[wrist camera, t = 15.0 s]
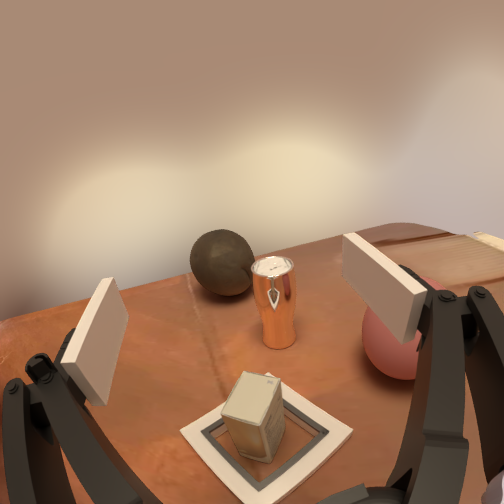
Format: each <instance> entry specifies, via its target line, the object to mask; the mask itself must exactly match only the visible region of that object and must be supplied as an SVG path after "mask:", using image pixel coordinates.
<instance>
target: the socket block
mask: <svg viewBox="0 0 504 504" xmlns="http://www.w3.org/2000/svg"><path fill="white" fill-rule="evenodd" d="M265 375H267V376H272V377H274V376H273V375H271V374H270V373H269V372H268V373H266V374H265ZM281 389H282V399H283V409H284V414H285V415H286V416H287V417H289V418H290V419H291V420H293V421H294V422H295V423H297V424H298V425H299V426H301V427H302V428H303V429H305V430H306V431H308V432H309V433H310V434H312V435H313V436H315V437H314V438H313V439H312V440H311V441H310V442H309V443H308V444H307V445H306V446H305V447H303V448H302V449H301V450H300V451H299V452H298V453H297V454H295V455H294V456H293V457H292V458H291V459H289V460H288V461H287V462H286V463H285V464H283V465H282V466H281V467H280V468H278V469H277V470H276V471H274V472H273V473H272V474H271V475H269V476H268V477H267V478H265V479H264V480H263V481H261V482H260V483H259V482H257V481H256V480H255V479H254V478H253V477H252V476H251V475H250V474H249V473H248V472H247V471H246V470H245V469H244V468H243V467H242V466H240V465H239V464H238V463H237V462H236V461H235V460H234V459H233V458H232V457H231V456H230V454H229V453H228V452H227V451H226V450H225V449H224V448H223V447H222V446H221V445H220V444H219V443H218V442H217V441H216V440H215V438H216V437H218V436H220V435H221V434H223V433H224V432H226V431H227V430H228V429H227V427H226V425H225V423H224V421H223V418H222V416H221V414H220V412H221V410H222V409H223V406H224V405H225V403H226V402H225V403H223V404H221V405H220V406H218V407H217V408H215V409H214V410H212V411H211V412H209V413H207V414H206V415H204V416H202V417H201V418H199V419H198V420H196V421H194V422H193V423H191V424H189V425H188V426H186V427H184V428H182V429H181V430H180V432H181V433H182V434H183V436H184V437H185V439H186V440H187V441H188V442H189V444H190V445H191V446H192V447H193V449H194V450H195V451H196V452H197V453H198V455H199V456H200V457H201V458H202V459H203V461H204V462H205V463H206V464H207V465H208V466H209V467H210V469H211V470H212V471H213V472H214V473H215V474H216V475H217V476H218V477H219V479H220V480H221V481H222V482H223V483H224V484H225V485H226V486H227V487H228V488H229V489H230V490H231V491H232V492H233V493H234V494H235V495H236V496H237V497H238V498H239V499H240V500H241V501H242V502H243V503H244V504H277V503H278V502H280V501H281V500H282V499H284V498H285V497H286V496H287V495H289V494H290V493H291V492H292V491H294V490H295V489H296V488H297V487H298V486H300V485H301V484H302V483H303V482H304V481H305V480H307V479H308V478H309V477H310V476H311V475H312V474H313V473H314V472H315V471H317V470H318V469H319V468H320V467H321V466H322V465H323V464H324V463H325V462H326V461H327V460H328V459H329V458H330V457H331V456H332V455H333V454H334V453H335V452H336V451H337V450H338V449H339V448H340V447H341V446H342V445H343V444H344V443H345V442H346V441H347V440H348V439H349V438H350V437H351V435H352V432H353V429H351V428H350V427H348V426H347V425H345V424H343V423H342V422H340V421H339V420H337V419H335V418H334V417H332V416H331V415H329V414H328V413H326V412H325V411H323V410H321V409H320V408H318V407H317V406H315V405H314V404H312V403H311V402H309V401H308V400H307V399H305V398H304V397H302V396H301V395H299V394H298V393H296V392H295V391H294V390H292V389H291V388H289V387H288V386H286V385H285V384H284V383H282V382H281Z"/></svg>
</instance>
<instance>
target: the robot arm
mask: <svg viewBox="0 0 504 504" xmlns="http://www.w3.org/2000/svg"><path fill="white" fill-rule="evenodd" d="M342 277H343V278H344V279H345V280H346V281H347V282H348V283H349V285H350V286H351V287H352V288H353V289H354V290H355V291H356V292H357V293H358V295H359V296H360V297H361V298H362V299H363V300H364V301H365V303H366V304H367V305H368V306H369V307H370V308H371V309H372V311H373V312H374V313H375V314H376V315H377V316H378V318H379V319H380V320H381V321H382V322H383V323H384V325H385V326H386V327H387V328H388V329H389V330H390V332H391V333H392V334H393V335H394V336H395V338H396V339H397V340H398V341H399V342H400V344H401V345H402V344H405V343H407V342H409V341H412V340H414V338H415V335H416V331H417V330H418V331H419V332H420V333H421V334H422V335H421V338H420V341H419V344H418V347H417V350H416V352H418V351H419V353H418V362H417V370H416V377H415V384H414V390H413V395H412V401H411V406H410V411H409V416H408V420H407V425H406V429H405V433H404V437H403V441H402V445H401V448H400V452H399V455H398V459H397V462H396V465H395V467H394V469H393V471H392V473H391V475H390V477H389V479H388V481H387V483H386V486H385V487H368V488H365V486H364V484H360V485H358V486H355V487H353V488H350V489H347V490H345V491H342V492H339V493H336V494H333V495H331V496H329V497H327V498H325V499H324V500H322V501H320V502H318V503H317V504H459V500H460V496H461V491H462V487H463V482H464V477H465V471H466V465H467V459H468V451H469V442H468V439H465V438H463V424H464V409H465V372H466V376H467V379H468V383H469V387H470V391H471V395H472V399H473V404H474V408H475V413H476V418H477V424H478V429H479V435H480V442H481V450H482V458H483V465H484V472H485V476H486V480H487V483H488V486H487V489H486V492H485V493H484V494H483V495H482V497H481V502H482V504H504V315H503V313H502V311H501V310H500V308H499V306H498V304H497V303H496V301H495V300H494V298H493V296H492V295H491V293H490V292H489V291H488V290H487V289H485V288H484V287H482V286H472V287H471V288H469V291H468V295H467V296H463V297H457V296H456V295H455V294H454V293H453V292H451V291H448V290H436V289H434V288H433V287H432V286H431V285H429V284H428V283H427V282H426V281H425V280H423V279H422V278H420V276H418V275H417V274H415V273H414V272H413V271H412V270H411V269H409V268H407V267H405V266H402V265H396V264H395V263H394V262H393V261H391V260H390V259H389V258H388V257H386V256H385V255H384V254H382V253H381V252H380V251H378V250H377V249H376V248H375V247H373V246H372V245H371V244H369V243H368V242H367V241H365V240H364V239H362V238H361V237H360V236H358V235H357V234H356V233H348V234H343V254H342ZM128 319H129V315H128V312H127V310H126V308H125V305H124V303H123V300H122V298H121V295H120V293H119V290H118V288H117V285H116V282H115V280H114V277H111V278H105V279H102V280H101V282H100V284H99V285H98V287H97V289H96V291H95V293H94V295H93V296H92V298H91V300H90V302H89V304H88V306H87V308H86V309H85V311H84V313H83V315H82V317H81V319H80V321H79V323H78V325H77V327H76V328H73V329H72V330H71V331H70V332H69V333H68V334H67V335H66V337H65V339H64V341H63V344H62V346H61V348H60V350H59V352H58V354H57V356H56V358H55V361H54V363H52V361H51V360H50V358H49V357H48V355H47V354H45V353H39V354H36V355H34V356H33V357H32V358H30V359H29V361H28V362H27V364H26V366H25V371H26V373H27V374H28V375H29V377H30V378H31V379H32V381H33V382H34V383H32V384H29V385H25V383H24V382H23V381H22V380H21V379H20V378H14V379H12V380H10V381H9V382H8V383H7V384H6V386H5V388H4V392H3V412H2V436H3V455H4V466H5V475H6V482H7V489H8V494H9V500H10V504H76V502H75V499H74V496H73V493H72V490H71V487H70V483H69V480H68V477H67V473H66V469H65V466H64V462H63V458H62V454H61V449H60V446H61V448H62V450H63V452H64V454H65V456H66V457H67V459H68V461H69V463H70V465H71V467H72V468H73V470H74V472H75V474H76V475H77V477H78V479H79V480H80V482H81V484H82V485H83V487H84V489H85V490H86V492H87V493H88V495H89V496H90V498H91V499H92V501H93V502H94V504H163V503H162V502H161V501H160V500H159V499H158V498H157V497H156V496H155V495H154V494H153V493H152V492H151V491H150V490H149V489H148V488H147V487H146V486H145V484H144V483H143V482H142V481H141V480H140V479H139V478H138V477H137V475H136V474H135V473H134V472H133V471H132V470H131V468H130V467H129V466H128V465H127V463H126V462H125V461H124V460H123V458H122V457H121V456H120V455H119V453H118V452H117V451H116V449H115V448H114V447H113V445H112V444H111V443H110V441H109V440H108V438H107V437H106V436H105V434H104V433H103V431H102V430H101V428H100V427H99V425H98V424H97V422H96V421H95V419H94V418H93V416H92V415H91V413H90V412H89V410H88V408H87V407H86V406H85V405H84V403H85V400H86V398H87V400H88V401H89V402H90V403H91V405H92V406H107V402H108V397H109V392H110V388H111V383H112V379H113V375H114V371H115V367H116V363H117V359H118V355H119V351H120V347H121V344H122V340H123V337H124V333H125V330H126V326H127V323H128ZM59 444H60V445H59Z"/></svg>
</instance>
